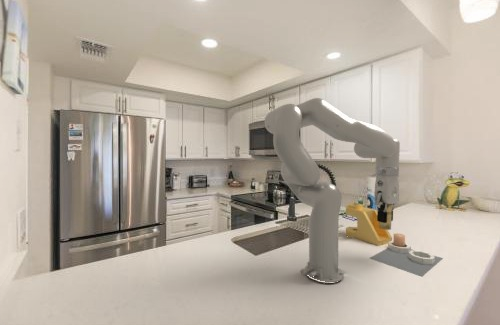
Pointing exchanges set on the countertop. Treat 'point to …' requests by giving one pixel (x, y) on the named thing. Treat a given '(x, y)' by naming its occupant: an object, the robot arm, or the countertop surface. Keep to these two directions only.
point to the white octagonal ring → (421, 257)
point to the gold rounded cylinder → (389, 215)
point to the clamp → (366, 225)
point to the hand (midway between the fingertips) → (385, 220)
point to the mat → (403, 262)
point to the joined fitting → (399, 244)
